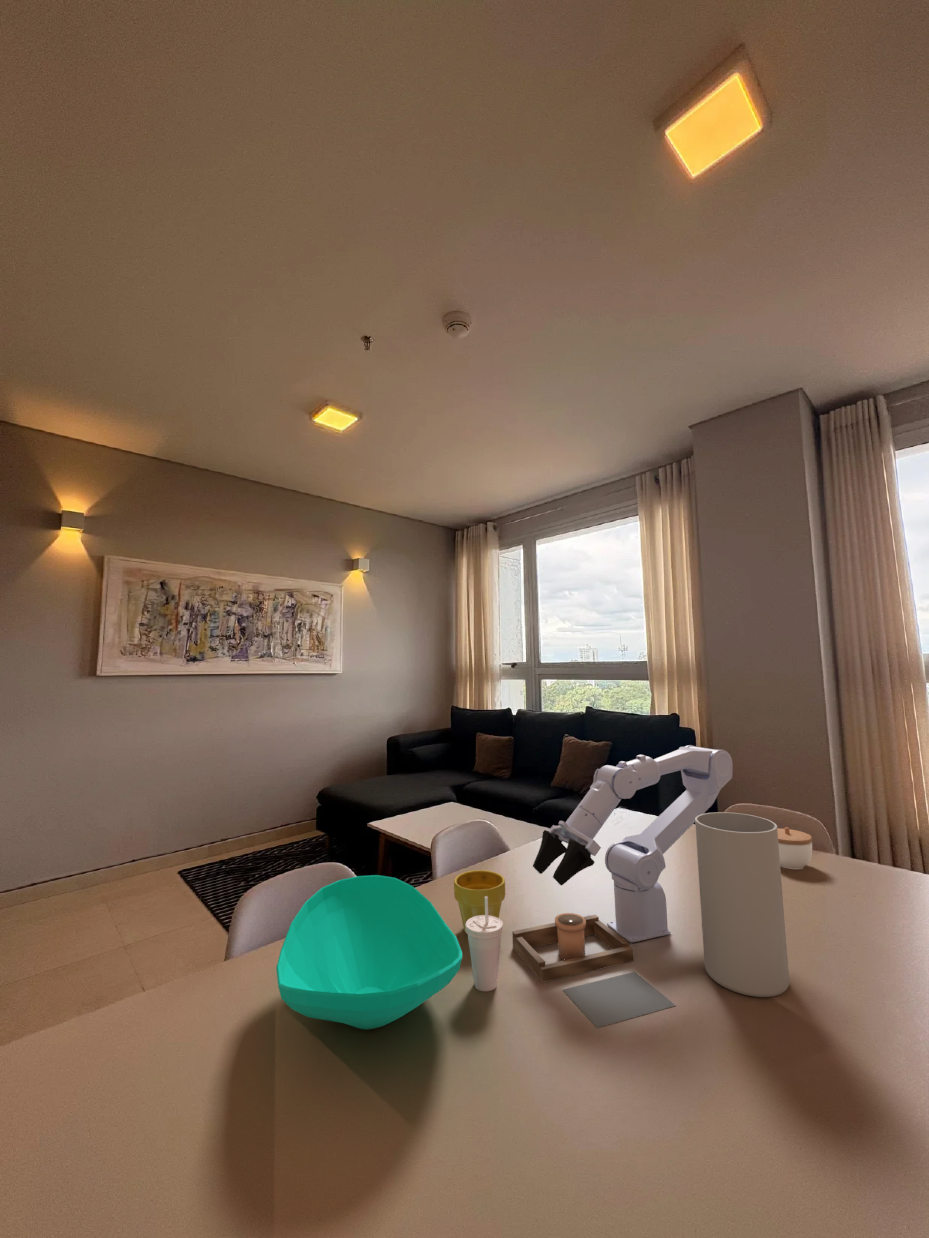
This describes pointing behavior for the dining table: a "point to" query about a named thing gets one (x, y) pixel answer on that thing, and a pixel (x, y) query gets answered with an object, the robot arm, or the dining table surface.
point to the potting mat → (617, 999)
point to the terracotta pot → (570, 935)
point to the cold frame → (557, 970)
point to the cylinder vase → (742, 903)
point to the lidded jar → (794, 848)
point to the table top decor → (365, 953)
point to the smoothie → (484, 948)
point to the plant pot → (479, 893)
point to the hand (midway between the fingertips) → (546, 875)
